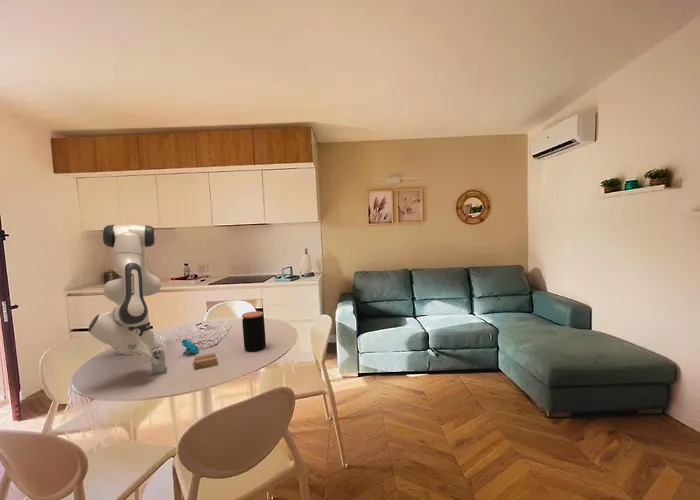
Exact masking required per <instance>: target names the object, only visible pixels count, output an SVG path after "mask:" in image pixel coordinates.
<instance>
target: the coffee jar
mask: <svg viewBox="0 0 700 500" xmlns="http://www.w3.org/2000/svg"><path fill="white" fill-rule="evenodd" d="M264 314H265V313H264V311H260V310H259V311H257V310H255V311H248V312H245V313H243V314H242V315H241V317H242V320H241V324H242V335H243V337H242V338H243V346H244V347H243V348H244V350H245V351H246V352H249V353H254V352H255V353H256V352H260V351H263V350H264V349H265V348H266V345H267V342H266V328H265V327H266V326H265V316H264Z"/></svg>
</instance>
